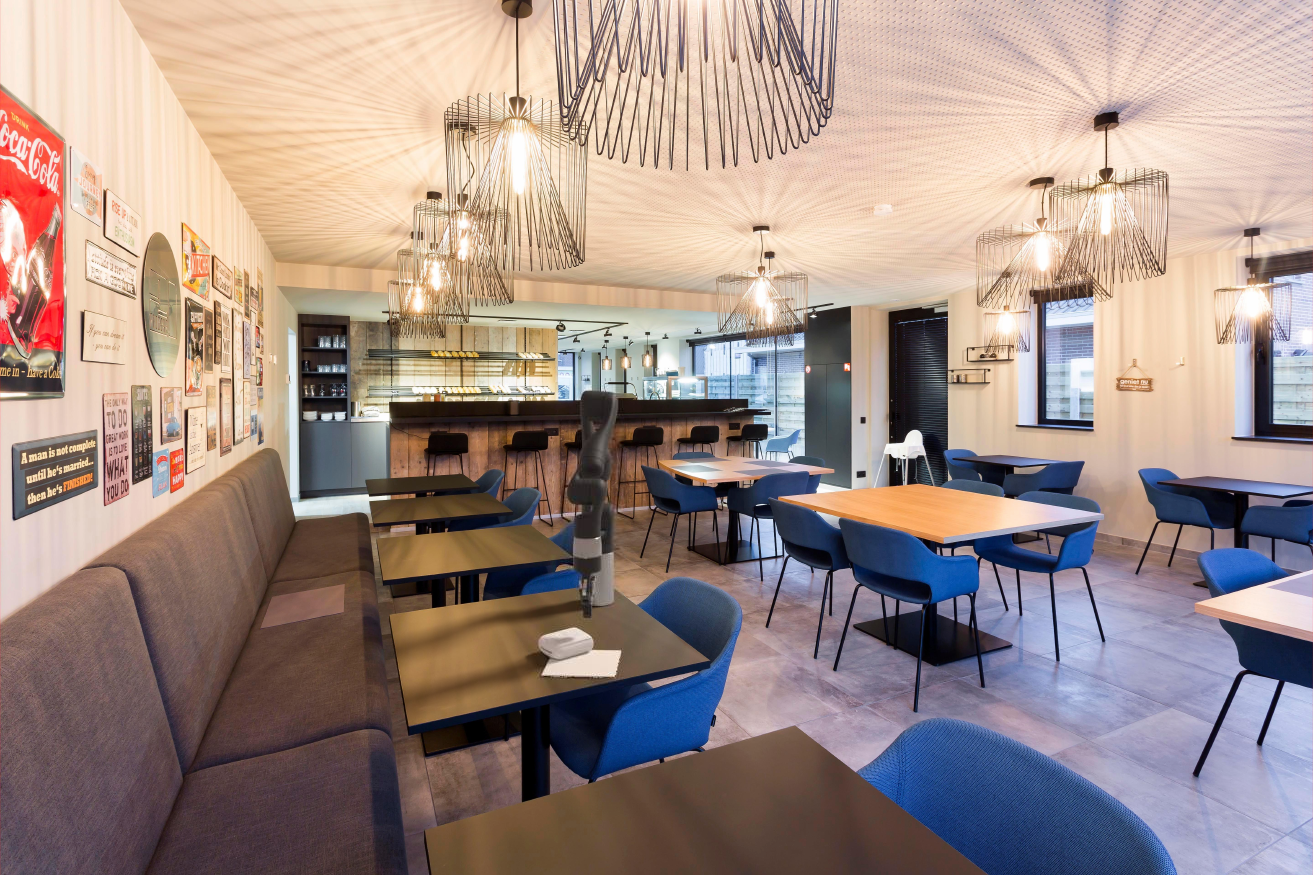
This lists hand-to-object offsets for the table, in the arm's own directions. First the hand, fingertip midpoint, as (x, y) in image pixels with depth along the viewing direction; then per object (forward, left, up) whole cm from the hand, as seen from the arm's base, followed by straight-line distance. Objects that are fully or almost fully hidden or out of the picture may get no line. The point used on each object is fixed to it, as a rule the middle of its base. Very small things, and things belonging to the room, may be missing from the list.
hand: (587, 616), depth 169 cm
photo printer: (-3, -1, -7) cm, 7 cm away
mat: (+8, 0, -10) cm, 12 cm away
